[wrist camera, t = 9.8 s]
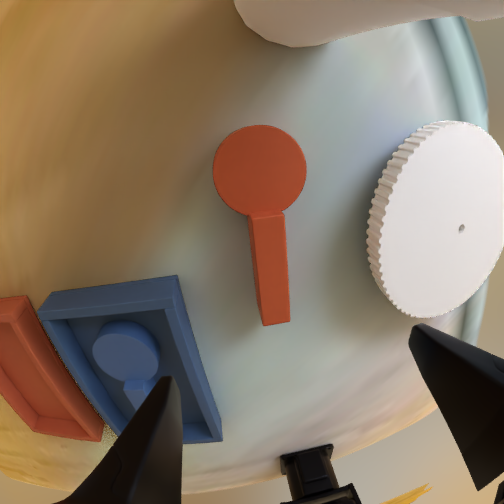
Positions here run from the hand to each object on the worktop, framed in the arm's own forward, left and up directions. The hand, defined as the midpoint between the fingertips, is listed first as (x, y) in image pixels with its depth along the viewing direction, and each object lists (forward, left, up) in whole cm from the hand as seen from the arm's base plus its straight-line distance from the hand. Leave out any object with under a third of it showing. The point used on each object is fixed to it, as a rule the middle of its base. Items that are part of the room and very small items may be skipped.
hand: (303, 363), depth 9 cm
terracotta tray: (-8, +22, -9) cm, 25 cm away
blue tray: (-8, +10, -9) cm, 15 cm away
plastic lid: (+1, -13, -9) cm, 16 cm away
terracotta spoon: (+2, 0, -9) cm, 9 cm away
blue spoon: (-8, +10, -8) cm, 15 cm away
